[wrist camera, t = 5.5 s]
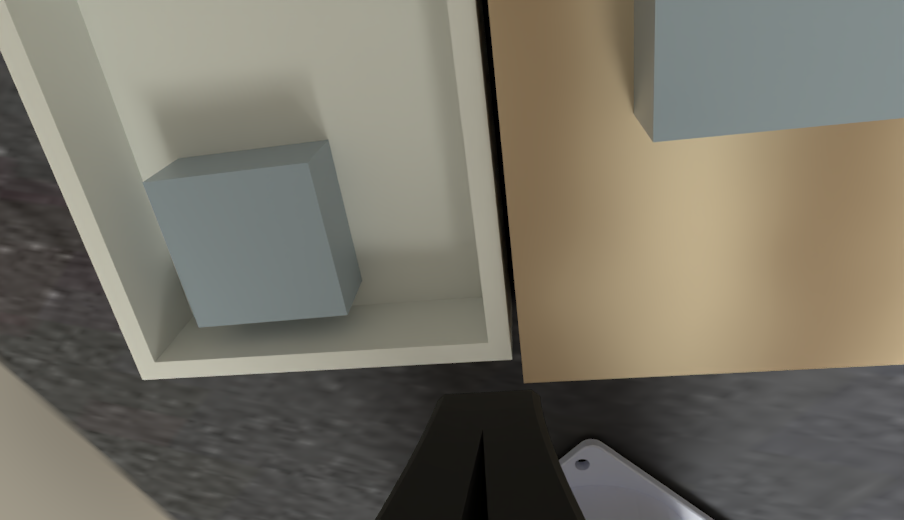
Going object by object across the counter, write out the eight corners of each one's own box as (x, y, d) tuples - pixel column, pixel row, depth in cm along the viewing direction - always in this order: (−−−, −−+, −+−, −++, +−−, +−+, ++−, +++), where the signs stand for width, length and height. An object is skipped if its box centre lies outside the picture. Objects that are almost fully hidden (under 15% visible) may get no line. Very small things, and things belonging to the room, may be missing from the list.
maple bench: (1187, -312, 12) (1461, -412, 9) (1009, 271, 18) (1130, 353, 15) (477, -191, 14) (465, -234, 11) (521, 303, 20) (524, 383, 16)
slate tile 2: (142, 182, 16) (178, 158, 18) (198, 327, 18) (226, 292, 20) (307, 162, 16) (328, 139, 17) (347, 315, 18) (362, 280, 19)
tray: (466, -165, 14) (455, -187, 12) (512, 303, 20) (512, 359, 17) (32, -93, 16) (-65, -99, 13) (188, 324, 21) (142, 379, 19)
